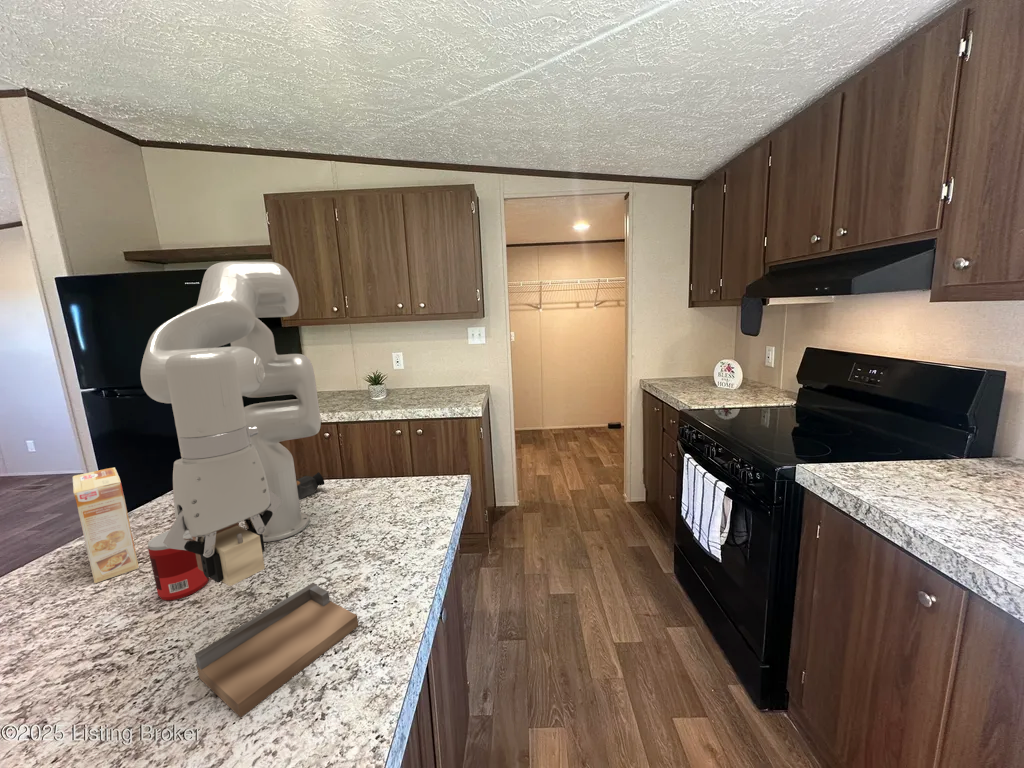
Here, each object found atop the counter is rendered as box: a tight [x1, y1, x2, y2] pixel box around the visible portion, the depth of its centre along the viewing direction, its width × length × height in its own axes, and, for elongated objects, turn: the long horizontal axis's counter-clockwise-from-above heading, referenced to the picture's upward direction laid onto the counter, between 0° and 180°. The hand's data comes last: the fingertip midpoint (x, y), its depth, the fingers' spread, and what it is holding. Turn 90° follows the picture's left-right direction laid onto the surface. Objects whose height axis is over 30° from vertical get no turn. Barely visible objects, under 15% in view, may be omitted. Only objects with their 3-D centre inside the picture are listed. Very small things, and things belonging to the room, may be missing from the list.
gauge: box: [192, 522, 266, 587], centre depth 59 cm, size 9×5×8 cm, turn 57°
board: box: [194, 582, 359, 718], centre depth 63 cm, size 12×18×4 cm, turn 148°
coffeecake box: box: [72, 467, 140, 584], centre depth 89 cm, size 15×7×20 cm, turn 47°
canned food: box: [147, 529, 210, 601], centre depth 80 cm, size 8×8×11 cm
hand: (236, 567), depth 58 cm, fingers closed on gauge, 4 cm apart
